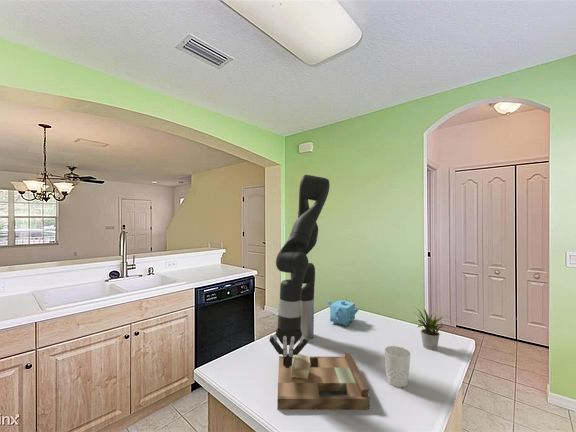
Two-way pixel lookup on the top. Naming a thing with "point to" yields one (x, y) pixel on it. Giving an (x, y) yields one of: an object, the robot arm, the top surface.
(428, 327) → the house plant
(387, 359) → the white cup
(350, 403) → the box
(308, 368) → the birch block
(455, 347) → the top surface
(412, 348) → the top surface
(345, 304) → the teapot
